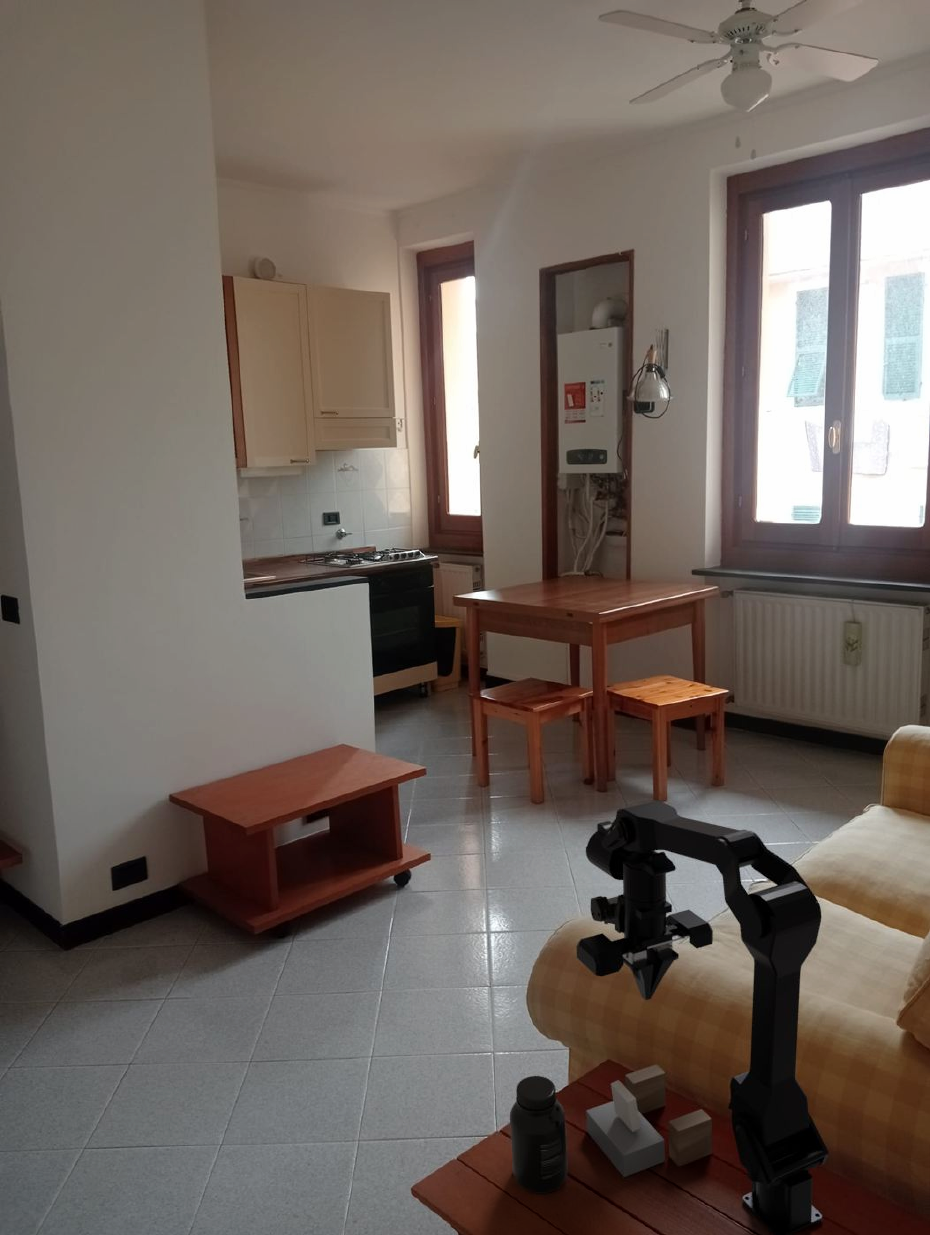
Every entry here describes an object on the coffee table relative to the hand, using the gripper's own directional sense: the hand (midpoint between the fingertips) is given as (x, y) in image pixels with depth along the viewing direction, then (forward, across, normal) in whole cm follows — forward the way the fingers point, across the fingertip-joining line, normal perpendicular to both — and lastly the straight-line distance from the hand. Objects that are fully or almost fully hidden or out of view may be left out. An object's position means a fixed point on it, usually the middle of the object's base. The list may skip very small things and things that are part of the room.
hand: (646, 998), depth 131 cm
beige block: (+13, +3, +14) cm, 19 cm away
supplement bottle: (+13, +22, +8) cm, 27 cm away
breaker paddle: (+10, +9, +9) cm, 16 cm away
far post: (+13, +3, +4) cm, 14 cm away
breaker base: (+13, +10, +9) cm, 18 cm away
